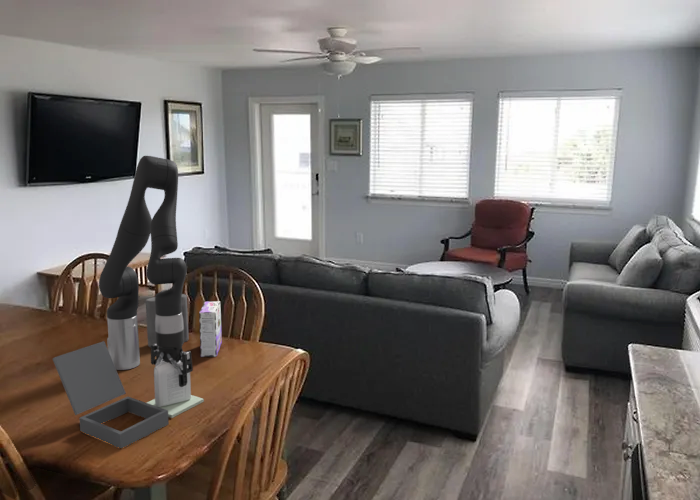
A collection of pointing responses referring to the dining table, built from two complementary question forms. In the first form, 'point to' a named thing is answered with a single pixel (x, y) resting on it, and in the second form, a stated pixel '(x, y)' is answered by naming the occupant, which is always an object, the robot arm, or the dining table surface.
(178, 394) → the white slotted device
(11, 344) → the dining table surface
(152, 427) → the case
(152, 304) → the flask
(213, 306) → the candy box
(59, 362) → the case lid
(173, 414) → the mat
